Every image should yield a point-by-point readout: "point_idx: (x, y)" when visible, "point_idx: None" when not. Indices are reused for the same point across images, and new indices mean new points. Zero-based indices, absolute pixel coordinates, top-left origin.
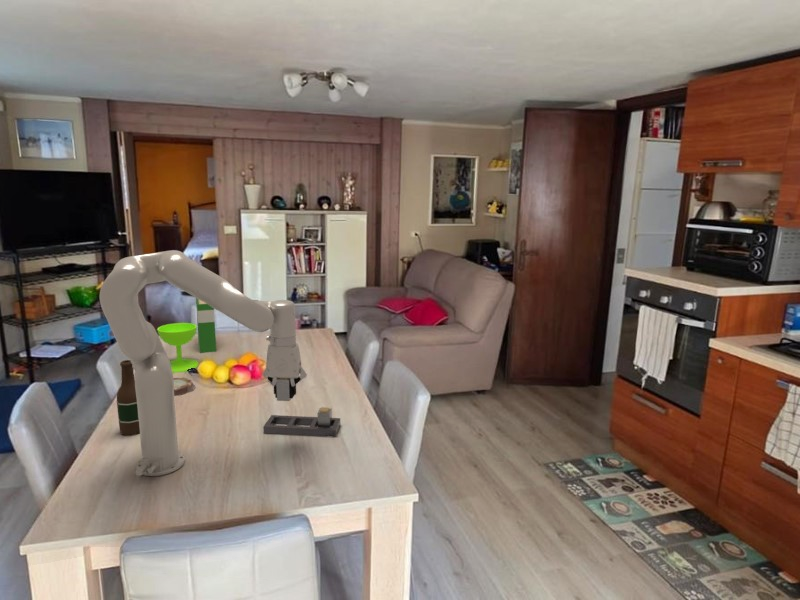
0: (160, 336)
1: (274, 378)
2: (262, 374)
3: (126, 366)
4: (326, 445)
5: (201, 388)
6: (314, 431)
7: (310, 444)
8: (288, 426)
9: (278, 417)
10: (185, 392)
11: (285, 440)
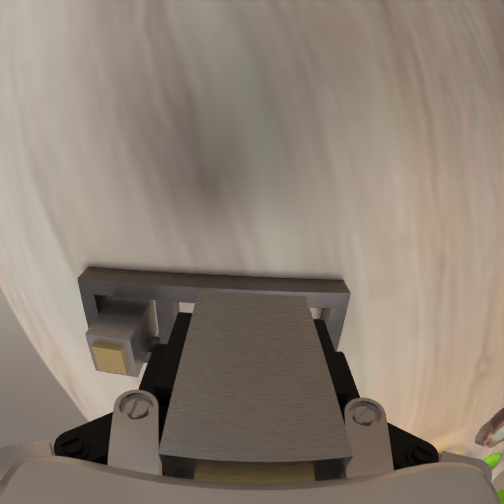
0: None
1: (373, 466)
2: (488, 468)
3: None
4: (98, 206)
5: (468, 438)
6: (151, 279)
7: (152, 208)
8: None
9: None
10: (494, 418)
11: (253, 233)
